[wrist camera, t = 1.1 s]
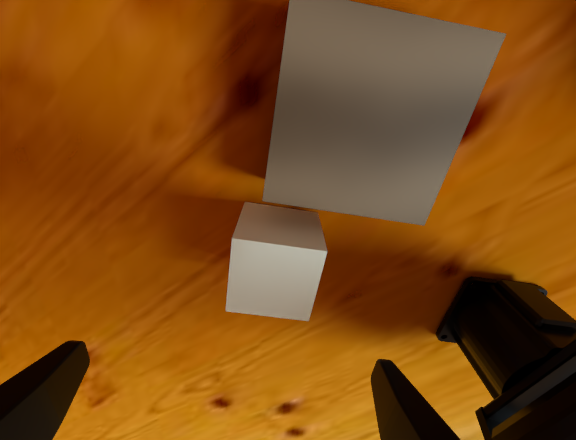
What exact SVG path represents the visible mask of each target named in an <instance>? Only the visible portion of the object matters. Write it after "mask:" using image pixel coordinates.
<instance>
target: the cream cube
mask: <svg viewBox="0 0 576 440" xmlns="http://www.w3.org/2000/svg"><path fill="white" fill-rule="evenodd" d="M327 252H328V251H327V247H326V243H325V239H324V235H323V231H322V227H321V223H320V219H319V215H318V212H311V211H304V210H298V209H291V208H284V207H278V206H271V205H264V204H257V203H251V202H244V205H243V208H242V211H241V214H240V217H239V220H238V222H237V225H236V228H235V231H234V234H233V237H232V243H231V254H230V266H229V277H228V288H227V299H226V311H227V312H236V313H244V314H253V315H261V316H270V317H278V318H287V319H295V320H303V321H309V319H310V315H311V311H312V308H313V304H314V300H315V296H316V293H317V289H318V285H319V282H320V278H321V274H322V270H323V267H324V263H325V259H326V255H327Z"/></svg>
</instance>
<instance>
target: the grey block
mask: <svg viewBox="0 0 576 440" xmlns="http://www.w3.org/2000/svg"><path fill="white" fill-rule="evenodd" d="M505 36H506V34H504V33H500V32H495V31H490V30H486V29H481V28H476V27H471V26H467V25H462V24H457V23H452V22H448V21H443V20H438V19H434V18H429V17H424V16H419V15H415V14H410V13H405V12H401V11H396V10H391V9H386V8H382V7H377V6H372V5H367V4H363V3H358V2H353V1H349V0H290V1H289V8H288V15H287V23H286V30H285V38H284V45H283V52H282V60H281V67H280V75H279V82H278V89H277V97H276V104H275V111H274V119H273V126H272V134H271V141H270V148H269V156H268V163H267V171H266V178H265V185H264V193H263V200H262V201H265V202H272V203H278V204H285V205H292V206H298V207H305V208H312V209H318V210H325V211H331V212H338V213H345V214H351V215H358V216H365V217H371V218H378V219H385V220H391V221H398V222H404V223H411V224H418V225H425V223H426V220H427V218H428V216H429V213H430V211H431V209H432V206H433V204H434V202H435V199H436V197H437V195H438V192H439V190H440V188H441V185H442V183H443V181H444V178H445V176H446V174H447V171H448V169H449V167H450V164H451V162H452V160H453V157H454V155H455V153H456V150H457V148H458V146H459V143H460V141H461V139H462V136H463V134H464V132H465V129H466V127H467V125H468V122H469V120H470V118H471V115H472V113H473V111H474V108H475V106H476V104H477V101H478V99H479V97H480V94H481V92H482V90H483V87H484V85H485V83H486V80H487V78H488V76H489V73H490V71H491V68H492V66H493V64H494V61H495V59H496V57H497V54H498V52H499V50H500V47H501V45H502V43H503V40H504V38H505Z"/></svg>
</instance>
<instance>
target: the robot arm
mask: <svg viewBox="0 0 576 440" xmlns="http://www.w3.org/2000/svg"><path fill="white" fill-rule="evenodd" d="M472 283H473V284H472ZM546 295H547V291H546V290H545V289H544V288H543V287H541V286H535V285H532V284H529V283H521V282H514V281H507V280H492V279H484V278H477V277H470V278H467V279H466V280H465V281H464V283H463V285H462V287H461V288H460V290H459V292H458V294H457V296H456V297H455V299H454V301H453V303H452V305H451V306H450V308H449V310H448V312H447V314H446V315H445V317H444V319H443V321H442V323H441V325H440V326H439V328H438V330H437V332H436V336H437V338H438V340H440V341H445V342H453V343H457V344H458V345H459V347H460V348H461V350H462V352H463V353H464V355H465V356H466V358H467V359H468V361H469V362H470V364H471V365H472V367H473V368H474V370H475V371H476V373H477V374H478V376H479V377H480V379H481V380H482V382H483V383H484V385H485V386H486V388H487V390H488V391H489V393H490V394H491V396H492V397H493V399H494V400H493V401H491V402H490V403H489V404H487V405H486V406H485V407H480V408H479V409H478V410H476V411H475V413H476V416H477V419H478V422H479V425H480V427H481V430H482V433H483V436H484V439H485V440H576V320H574V319H573V318H572V317H571V316H569V315H568V314H567V313H566V312H565V311H563V310H562V309H561V308H560V307H559V306H557V305H556V304H555V303H554V302H552V301H551V300H550V299H549V298H548V297H546ZM89 363H90V358H89V355H88V351H87V348H86V345H85V343H84V342H83V341H73V340H71V341H67V342H65V343H63V344H62V345H60V346H59V347H57V348H56V349H54V350H53V351H51V352H50V353H48V354H47V355H45V356H44V357H42V358H41V359H39V360H37V361H36V362H34V363H33V364H31V365H30V366H28V367H27V368H25V369H24V370H22V371H21V372H19V373H18V374H16V375H15V376H13V377H12V378H10V379H9V380H7V381H6V382H4V383H2V384H1V385H0V440H52V439H53V437H54V436H55V434H56V432H57V430H58V429H59V427H60V425H61V423H62V421H63V419H64V417H65V415H66V413H67V411H68V409H69V407H70V405H71V403H72V401H73V399H74V396H75V394H76V392H77V390H78V388H79V386H80V384H81V382H82V380H83V377H84V375H85V373H86V371H87V369H88V367H89ZM371 386H372V392H373V398H374V404H375V410H376V416H377V422H378V428H379V433H380V438H381V440H460V439H459V437H458V436H457V435H456V434H455V433H454V432H453V431H452V429H451V428H450V427H449V426H448V425H447V424H446V423H445V421H444V420H443V419H442V418H441V417H440V416H439V415H438V413H437V412H436V411H435V410H434V409H433V408H432V406H431V405H430V404H429V403H428V402H427V401H426V400H425V398H424V397H423V396H422V395H421V394H420V393H419V392H418V390H417V389H416V388H415V387H414V386H413V385H412V384H411V382H410V381H409V380H408V379H407V378H406V377H405V376H404V374H403V373H402V372H401V371H400V370H399V369H398V368H397V366H396V365H395V364H394V363H393V362H392V361H391V360H386V359H378V360H377V362H376V364H375V367H374V369H373V372H372V375H371Z"/></svg>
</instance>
